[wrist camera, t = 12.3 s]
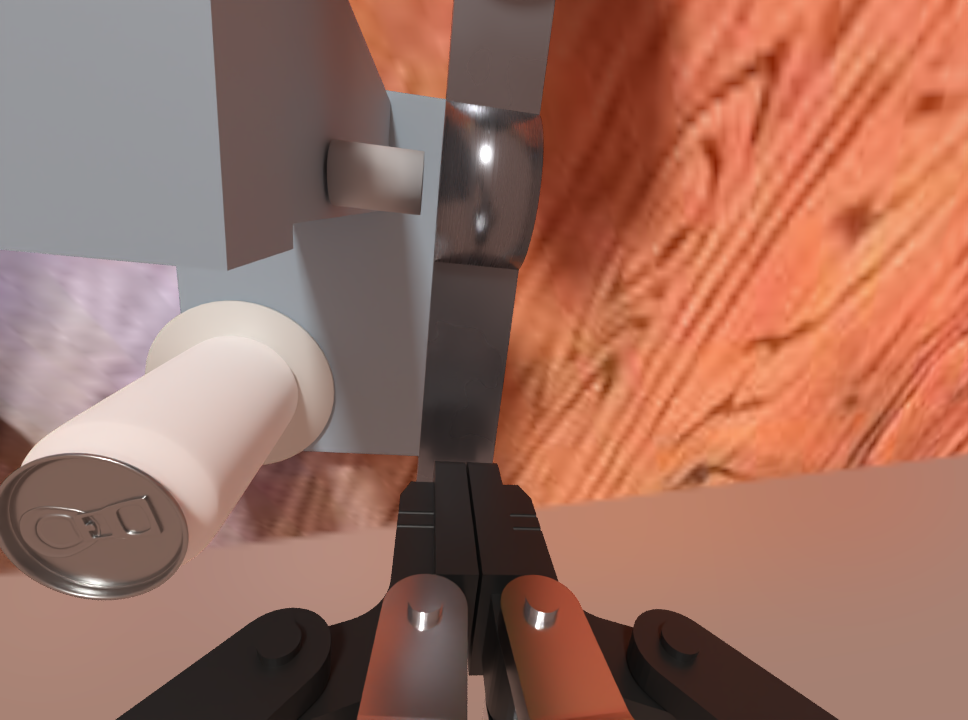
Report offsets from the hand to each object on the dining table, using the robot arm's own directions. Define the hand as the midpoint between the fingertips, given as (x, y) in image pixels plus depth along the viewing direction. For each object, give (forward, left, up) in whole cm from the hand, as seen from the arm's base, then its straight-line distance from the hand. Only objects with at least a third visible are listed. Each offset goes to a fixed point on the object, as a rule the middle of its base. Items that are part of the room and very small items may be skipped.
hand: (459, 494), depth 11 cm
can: (-11, -4, -16) cm, 20 cm away
